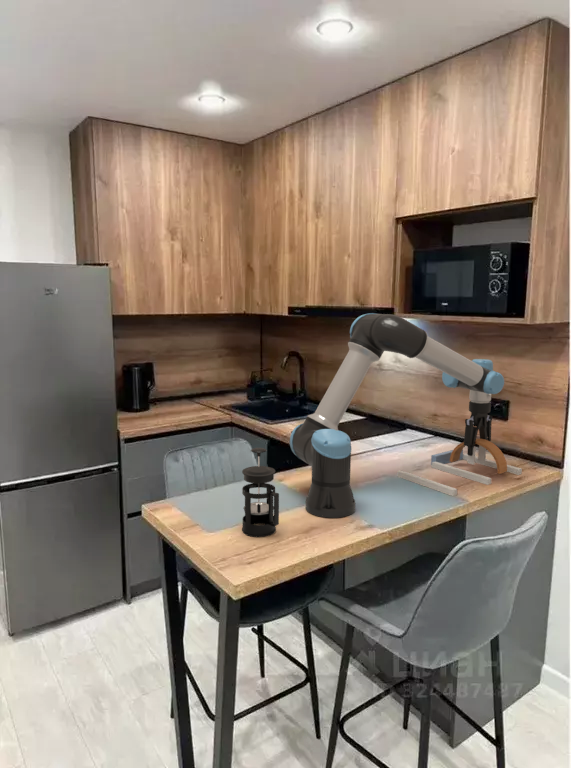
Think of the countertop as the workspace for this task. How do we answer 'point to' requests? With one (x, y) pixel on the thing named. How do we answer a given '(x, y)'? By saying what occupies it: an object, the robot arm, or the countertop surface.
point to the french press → (259, 510)
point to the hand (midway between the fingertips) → (476, 461)
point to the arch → (487, 445)
